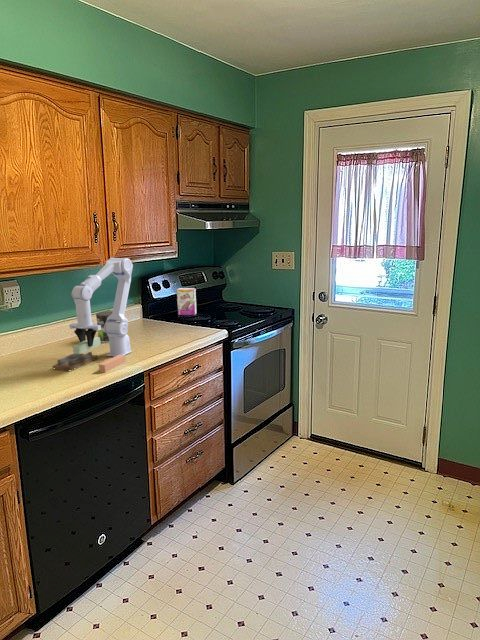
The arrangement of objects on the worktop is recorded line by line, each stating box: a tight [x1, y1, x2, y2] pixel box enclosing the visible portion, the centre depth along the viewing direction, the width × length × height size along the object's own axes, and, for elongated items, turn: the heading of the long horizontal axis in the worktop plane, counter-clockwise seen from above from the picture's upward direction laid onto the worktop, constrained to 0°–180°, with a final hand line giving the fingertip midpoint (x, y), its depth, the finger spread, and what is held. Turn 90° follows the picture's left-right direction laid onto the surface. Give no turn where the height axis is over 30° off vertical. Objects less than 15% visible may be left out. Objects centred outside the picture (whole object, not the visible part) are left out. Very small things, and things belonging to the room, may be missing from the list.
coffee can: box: [95, 310, 113, 344], centre depth 246 cm, size 10×10×14 cm
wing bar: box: [98, 355, 126, 374], centre depth 204 cm, size 14×3×4 cm, turn 158°
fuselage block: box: [72, 336, 102, 354], centre depth 205 cm, size 14×3×4 cm, turn 159°
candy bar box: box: [176, 287, 198, 316], centre depth 300 cm, size 11×5×16 cm, turn 82°
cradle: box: [52, 351, 99, 371], centre depth 210 cm, size 18×9×4 cm, turn 158°
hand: (87, 345), depth 205 cm, fingers closed on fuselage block, 3 cm apart
